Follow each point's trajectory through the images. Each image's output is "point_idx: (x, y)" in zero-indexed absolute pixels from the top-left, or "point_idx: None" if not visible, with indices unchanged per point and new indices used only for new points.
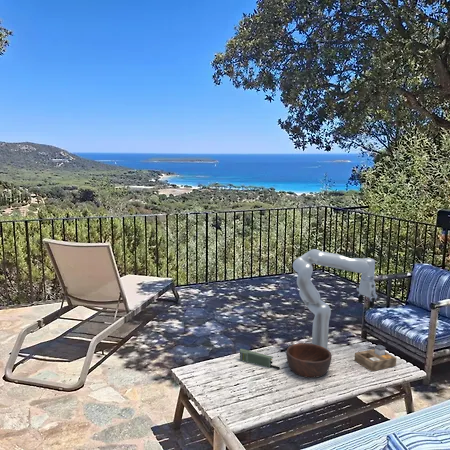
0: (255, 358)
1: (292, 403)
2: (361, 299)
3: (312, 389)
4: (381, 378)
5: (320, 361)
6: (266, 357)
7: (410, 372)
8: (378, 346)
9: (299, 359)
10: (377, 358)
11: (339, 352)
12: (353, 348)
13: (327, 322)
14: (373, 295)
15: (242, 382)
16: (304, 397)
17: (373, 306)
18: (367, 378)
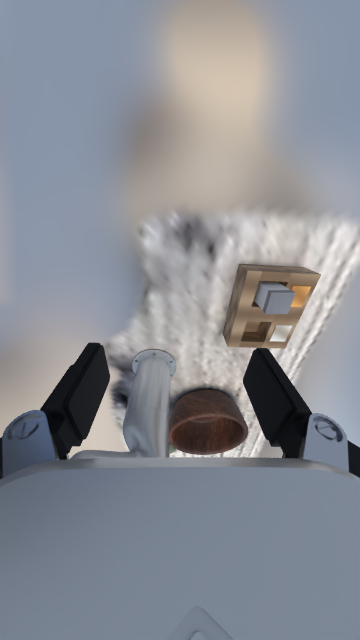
0: None
1: (253, 442)
2: (93, 385)
3: (247, 422)
4: (303, 338)
5: (244, 438)
6: (172, 452)
7: (348, 260)
8: (275, 307)
9: (220, 451)
10: (284, 326)
11: (175, 335)
12: (170, 291)
13: (167, 440)
14: (323, 490)
15: (192, 456)
16: (254, 432)
17: (265, 351)
18: (283, 357)
